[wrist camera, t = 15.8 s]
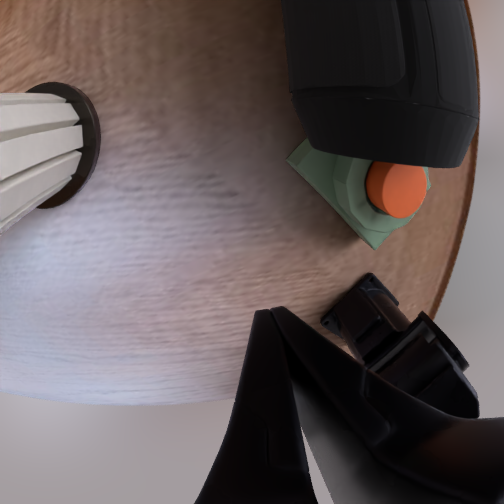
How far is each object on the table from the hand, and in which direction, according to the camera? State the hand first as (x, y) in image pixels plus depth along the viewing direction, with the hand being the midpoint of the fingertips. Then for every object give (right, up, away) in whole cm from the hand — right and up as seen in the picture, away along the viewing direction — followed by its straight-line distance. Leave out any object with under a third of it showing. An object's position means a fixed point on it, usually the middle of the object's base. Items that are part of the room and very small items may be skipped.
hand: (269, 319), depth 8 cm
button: (+8, +6, +7) cm, 12 cm away
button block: (+7, +8, +10) cm, 15 cm away
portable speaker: (+5, +21, +3) cm, 21 cm away
